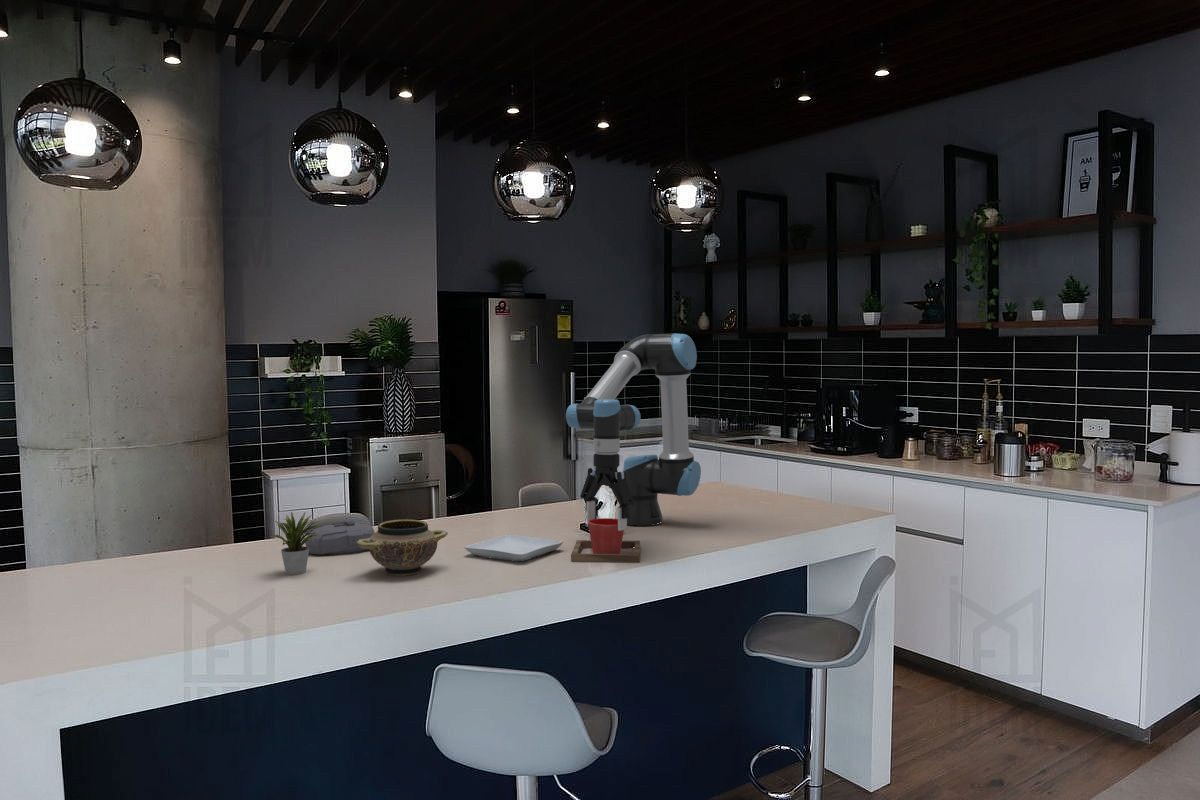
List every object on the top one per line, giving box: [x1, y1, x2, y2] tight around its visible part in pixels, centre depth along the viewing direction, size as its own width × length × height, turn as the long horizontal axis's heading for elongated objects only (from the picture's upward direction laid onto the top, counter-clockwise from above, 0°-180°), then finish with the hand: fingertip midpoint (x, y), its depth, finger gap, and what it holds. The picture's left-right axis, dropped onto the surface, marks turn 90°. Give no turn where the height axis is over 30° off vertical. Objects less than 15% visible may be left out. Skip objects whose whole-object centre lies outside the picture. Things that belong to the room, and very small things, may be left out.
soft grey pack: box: [304, 520, 376, 556], centre depth 257 cm, size 15×8×20 cm
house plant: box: [270, 511, 322, 576], centre depth 229 cm, size 14×14×16 cm
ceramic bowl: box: [357, 518, 449, 577], centre depth 231 cm, size 24×18×15 cm
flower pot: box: [588, 517, 625, 554], centre depth 250 cm, size 11×11×10 cm
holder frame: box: [570, 539, 641, 563], centre depth 250 cm, size 19×19×2 cm
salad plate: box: [464, 534, 564, 562], centre depth 252 cm, size 21×21×3 cm
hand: (606, 526), depth 250 cm, fingers open, 13 cm apart
